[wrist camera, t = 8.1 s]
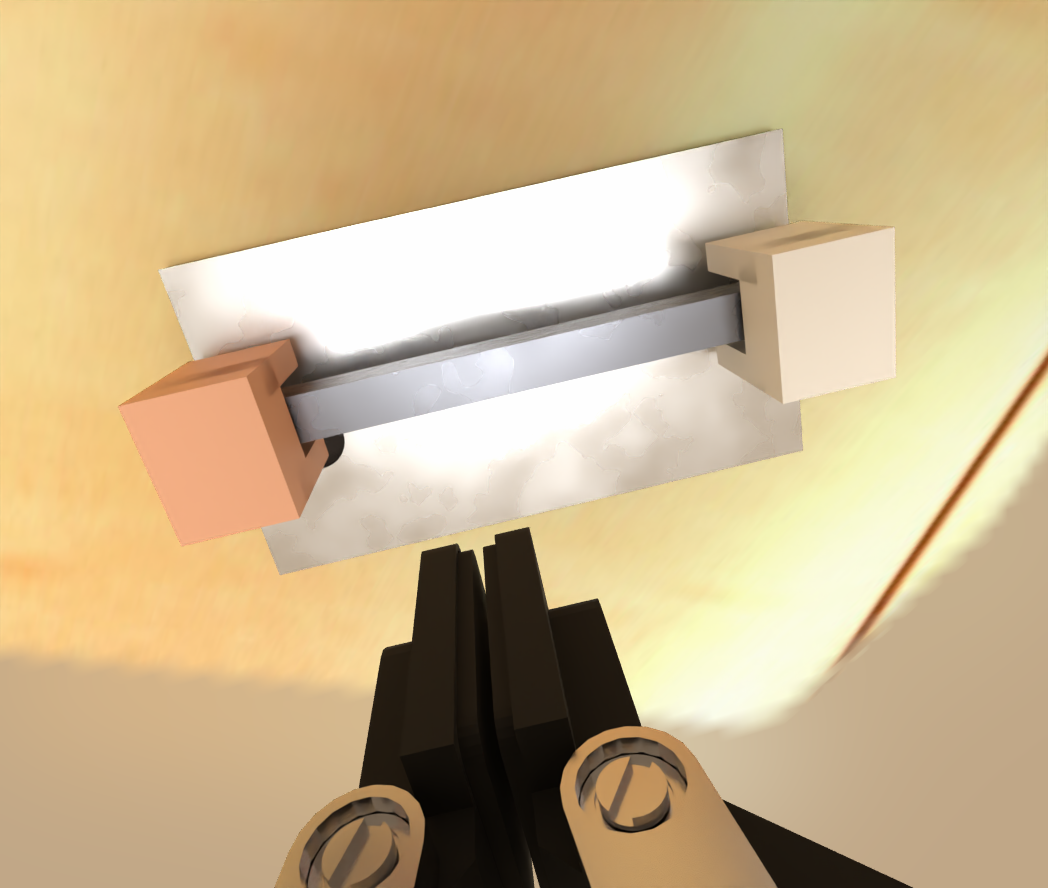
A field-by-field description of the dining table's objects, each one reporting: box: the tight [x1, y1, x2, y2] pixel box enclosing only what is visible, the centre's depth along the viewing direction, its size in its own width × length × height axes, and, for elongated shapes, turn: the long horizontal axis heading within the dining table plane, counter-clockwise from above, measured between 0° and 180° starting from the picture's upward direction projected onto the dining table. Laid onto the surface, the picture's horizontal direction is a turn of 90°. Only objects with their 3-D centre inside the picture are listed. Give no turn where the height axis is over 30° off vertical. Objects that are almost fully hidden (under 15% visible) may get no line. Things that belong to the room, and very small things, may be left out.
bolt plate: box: [158, 129, 803, 575], centre depth 29 cm, size 25×14×1 cm, turn 102°
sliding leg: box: [118, 339, 329, 546], centre depth 25 cm, size 4×5×7 cm
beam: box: [281, 282, 745, 444], centre depth 26 cm, size 25×2×4 cm, turn 102°
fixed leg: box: [705, 221, 896, 404], centre depth 25 cm, size 4×5×7 cm
